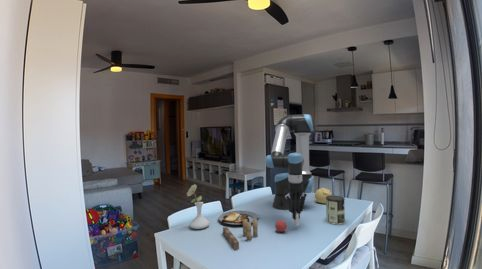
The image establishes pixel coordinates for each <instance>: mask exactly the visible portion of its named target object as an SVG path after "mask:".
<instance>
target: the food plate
mask: <svg viewBox="0 0 482 269" xmlns="http://www.w3.org/2000/svg"><path fill="white" fill-rule="evenodd" d="M259 217H260V216H259V214H257V213H256V212H253V211H249V210H231V211H227V212H222V214H221V215H219V217H218V218H217V219H218V221H219V222H220V223H223V224H226V225H232V226H240V225H242V226H243V219H247V222H251V224H253V219H257V220H258V218H259ZM250 219H251V220H250Z"/></svg>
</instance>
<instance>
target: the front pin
mask: <svg viewBox="0 0 482 269" xmlns="http://www.w3.org/2000/svg"><path fill="white" fill-rule="evenodd" d="M252 222H253V223H252V236H253V238H258V236H259V234H258V232H259V231H258V230H259V229H258V218H257V219H253V221H252Z"/></svg>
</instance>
